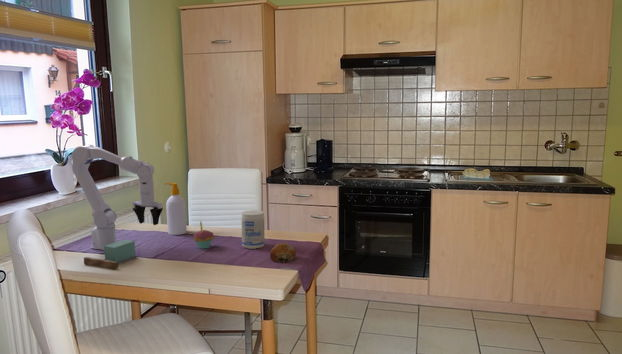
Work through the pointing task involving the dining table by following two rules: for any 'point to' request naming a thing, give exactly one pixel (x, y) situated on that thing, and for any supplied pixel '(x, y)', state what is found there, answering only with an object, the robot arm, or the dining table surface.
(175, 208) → the soap bottle
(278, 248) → the bread roll
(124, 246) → the teal rectangular box
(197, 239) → the cupcake
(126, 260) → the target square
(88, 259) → the stopper strip
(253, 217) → the supplement tub
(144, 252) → the dining table surface
